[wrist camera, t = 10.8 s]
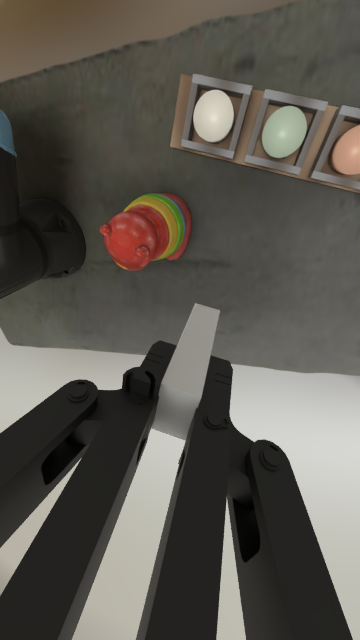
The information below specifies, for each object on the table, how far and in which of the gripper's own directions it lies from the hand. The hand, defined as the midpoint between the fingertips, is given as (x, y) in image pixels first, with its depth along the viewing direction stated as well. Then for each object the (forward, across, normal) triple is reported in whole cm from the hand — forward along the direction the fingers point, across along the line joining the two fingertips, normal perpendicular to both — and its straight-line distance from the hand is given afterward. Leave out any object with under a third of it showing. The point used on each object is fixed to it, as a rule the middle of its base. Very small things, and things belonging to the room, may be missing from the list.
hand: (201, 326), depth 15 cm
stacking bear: (+32, -12, -2) cm, 34 cm away
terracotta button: (+30, +12, +13) cm, 34 cm away
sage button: (+30, +3, +13) cm, 33 cm away
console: (+31, +3, +13) cm, 34 cm away
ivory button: (+30, -6, +13) cm, 33 cm away
